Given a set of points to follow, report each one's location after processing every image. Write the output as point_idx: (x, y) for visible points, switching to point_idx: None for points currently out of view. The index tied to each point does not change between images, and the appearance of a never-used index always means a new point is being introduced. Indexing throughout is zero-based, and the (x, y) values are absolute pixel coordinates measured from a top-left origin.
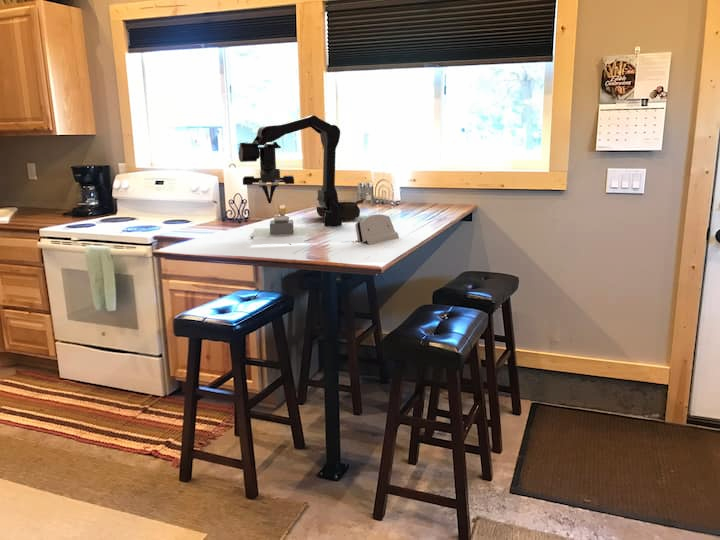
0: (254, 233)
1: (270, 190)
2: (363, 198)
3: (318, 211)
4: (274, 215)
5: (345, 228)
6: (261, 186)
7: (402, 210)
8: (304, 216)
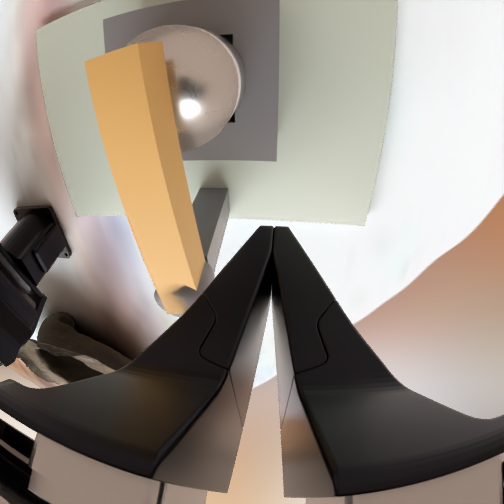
0: (380, 78)
1: (228, 363)
2: (47, 381)
3: None
4: (231, 74)
5: (11, 209)
6: (492, 429)
7: None
8: None
